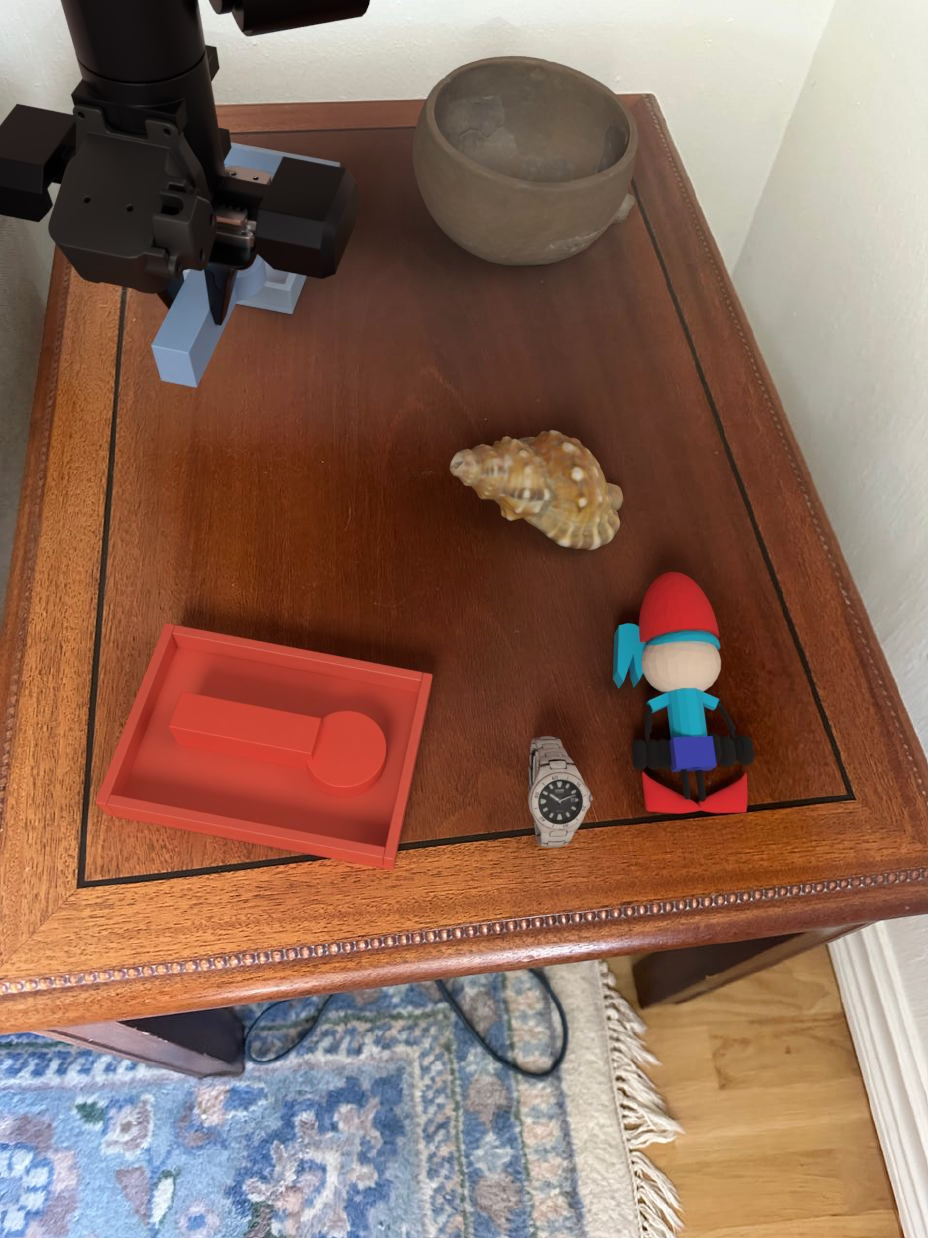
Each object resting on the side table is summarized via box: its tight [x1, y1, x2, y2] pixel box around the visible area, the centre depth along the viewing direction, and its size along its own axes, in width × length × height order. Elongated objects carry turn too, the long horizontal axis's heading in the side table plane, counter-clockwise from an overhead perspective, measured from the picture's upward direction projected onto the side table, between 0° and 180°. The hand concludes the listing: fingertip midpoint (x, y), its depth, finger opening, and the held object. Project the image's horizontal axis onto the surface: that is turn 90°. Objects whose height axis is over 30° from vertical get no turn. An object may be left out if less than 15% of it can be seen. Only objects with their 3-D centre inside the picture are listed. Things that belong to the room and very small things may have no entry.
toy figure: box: [612, 571, 756, 815], centre depth 55 cm, size 8×5×15 cm
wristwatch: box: [527, 735, 594, 849], centre depth 50 cm, size 4×6×5 cm, turn 4°
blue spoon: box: [150, 254, 267, 388], centre depth 55 cm, size 12×5×3 cm, turn 169°
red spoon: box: [169, 691, 386, 797], centre depth 51 cm, size 12×5×3 cm, turn 80°
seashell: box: [449, 429, 624, 551], centre depth 60 cm, size 9×8×10 cm
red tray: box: [95, 622, 434, 871], centre depth 52 cm, size 16×11×2 cm
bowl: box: [411, 55, 639, 267], centre depth 73 cm, size 17×18×10 cm
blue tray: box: [183, 141, 341, 315], centre depth 73 cm, size 16×11×2 cm
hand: (200, 316), depth 54 cm, fingers closed on blue spoon, 2 cm apart
